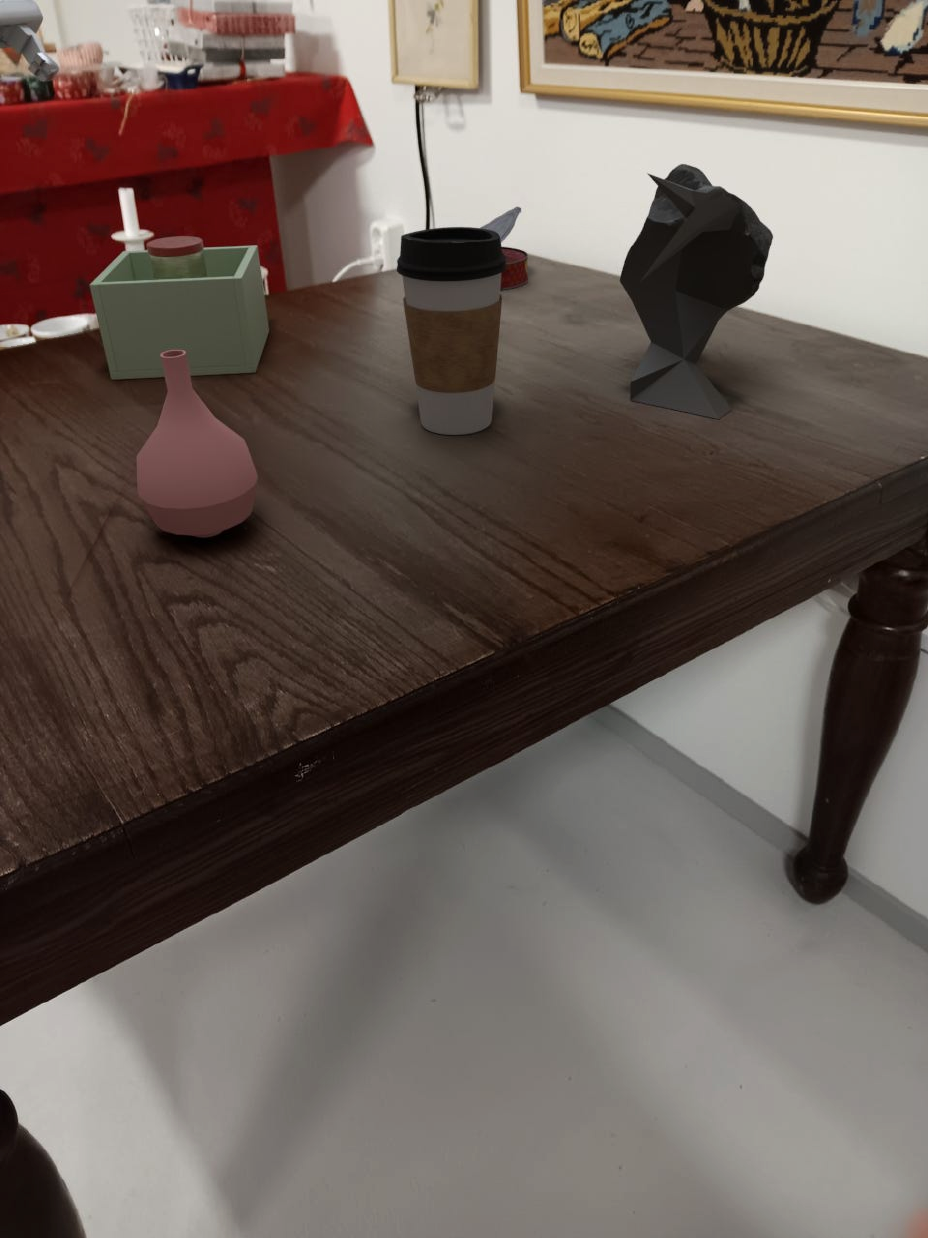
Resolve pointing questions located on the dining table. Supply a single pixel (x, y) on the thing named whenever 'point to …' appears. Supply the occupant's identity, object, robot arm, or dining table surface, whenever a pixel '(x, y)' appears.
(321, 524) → the dining table surface
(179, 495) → the pink vase
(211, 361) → the tote
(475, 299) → the coffee cup
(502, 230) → the canned food
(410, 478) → the dining table surface
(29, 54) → the robot arm
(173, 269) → the spice tin
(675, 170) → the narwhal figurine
